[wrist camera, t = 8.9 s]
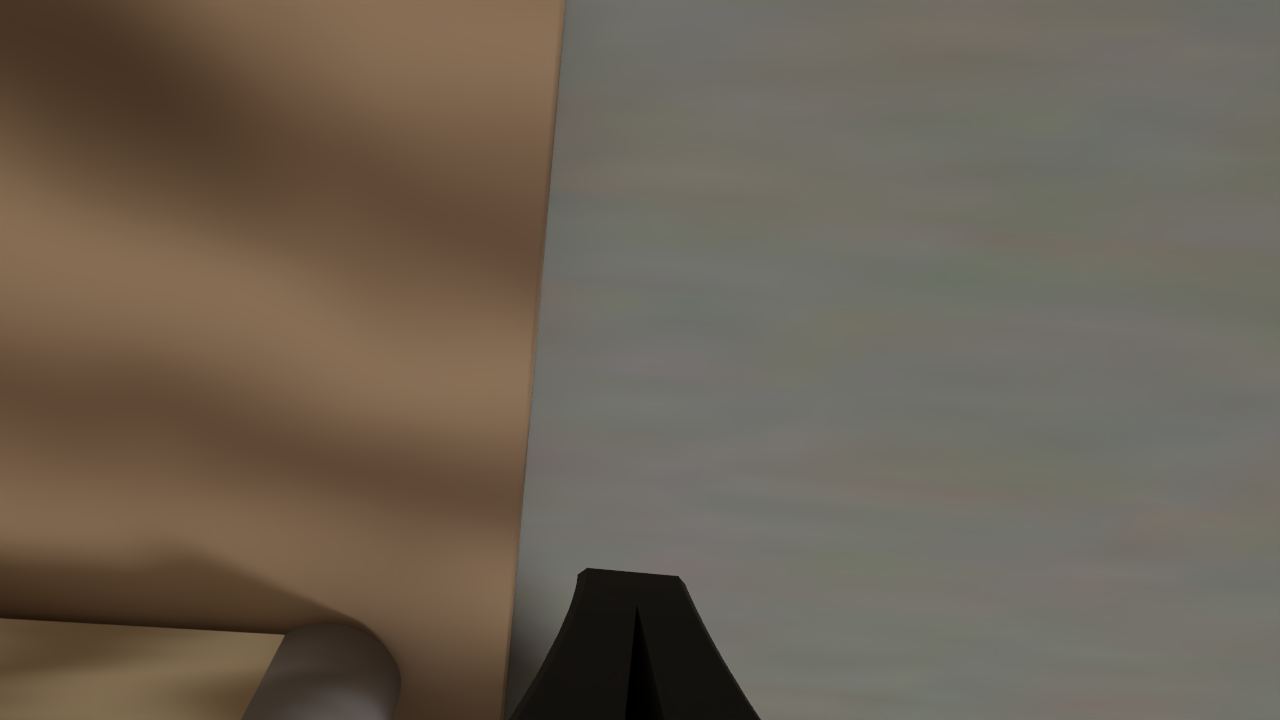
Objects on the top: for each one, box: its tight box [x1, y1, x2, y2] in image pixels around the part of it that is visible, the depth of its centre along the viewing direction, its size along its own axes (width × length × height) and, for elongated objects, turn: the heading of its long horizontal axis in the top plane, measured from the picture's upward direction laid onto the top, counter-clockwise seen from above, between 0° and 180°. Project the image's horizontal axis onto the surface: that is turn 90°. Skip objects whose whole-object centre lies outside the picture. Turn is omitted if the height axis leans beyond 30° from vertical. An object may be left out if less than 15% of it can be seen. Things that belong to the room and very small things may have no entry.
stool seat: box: [0, 0, 566, 720], centre depth 18 cm, size 20×20×5 cm
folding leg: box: [0, 618, 401, 720], centre depth 20 cm, size 15×3×3 cm, turn 85°
